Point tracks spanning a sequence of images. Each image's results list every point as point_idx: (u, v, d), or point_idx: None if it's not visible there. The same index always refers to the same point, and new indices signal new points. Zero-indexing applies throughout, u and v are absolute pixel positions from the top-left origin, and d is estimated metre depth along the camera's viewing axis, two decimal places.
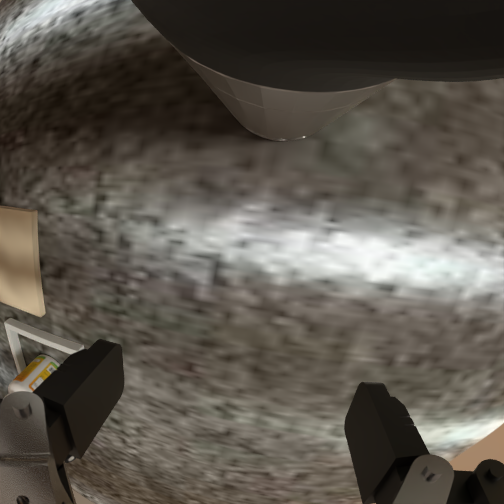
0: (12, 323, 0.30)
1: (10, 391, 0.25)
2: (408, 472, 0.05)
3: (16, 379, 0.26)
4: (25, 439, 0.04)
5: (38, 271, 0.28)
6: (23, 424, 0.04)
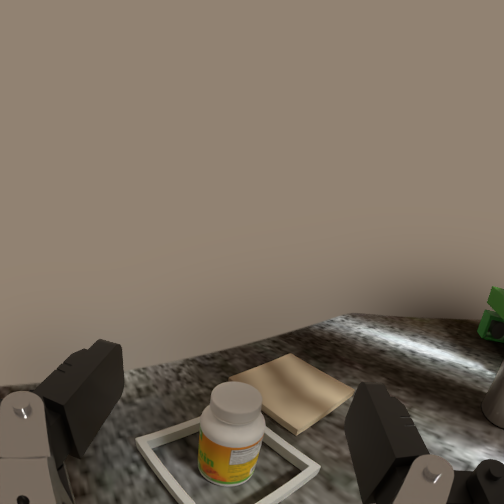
0: None
1: None
2: (408, 472, 0.05)
3: None
4: (25, 439, 0.04)
5: (325, 414, 0.33)
6: (22, 424, 0.04)
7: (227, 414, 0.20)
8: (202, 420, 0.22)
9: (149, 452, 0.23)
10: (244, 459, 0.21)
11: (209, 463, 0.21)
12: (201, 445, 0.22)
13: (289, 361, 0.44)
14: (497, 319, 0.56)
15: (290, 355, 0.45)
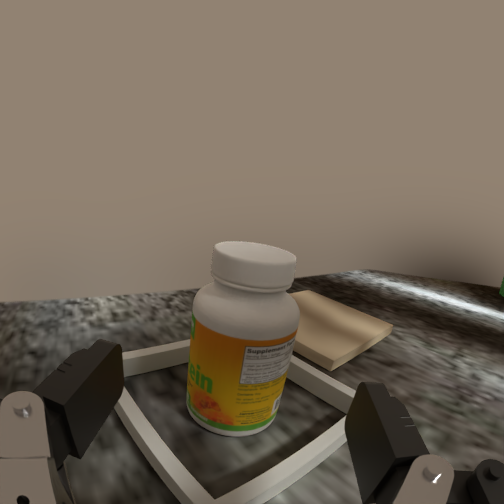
0: None
1: None
2: (408, 472, 0.05)
3: None
4: (25, 439, 0.04)
5: (363, 348, 0.26)
6: (23, 424, 0.04)
7: (240, 265, 0.13)
8: (197, 298, 0.15)
9: None
10: (266, 372, 0.14)
11: (204, 385, 0.14)
12: (192, 351, 0.15)
13: (309, 296, 0.36)
14: None
15: (309, 291, 0.38)
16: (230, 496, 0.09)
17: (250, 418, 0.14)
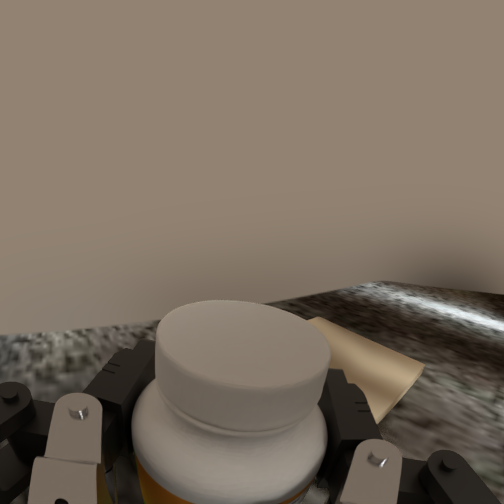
0: None
1: None
2: (353, 459, 0.05)
3: None
4: (89, 442, 0.05)
5: (393, 404, 0.18)
6: (76, 426, 0.05)
7: (206, 392, 0.05)
8: (135, 415, 0.07)
9: None
10: None
11: None
12: (140, 485, 0.07)
13: (320, 326, 0.28)
14: None
15: (319, 319, 0.30)
16: None
17: None
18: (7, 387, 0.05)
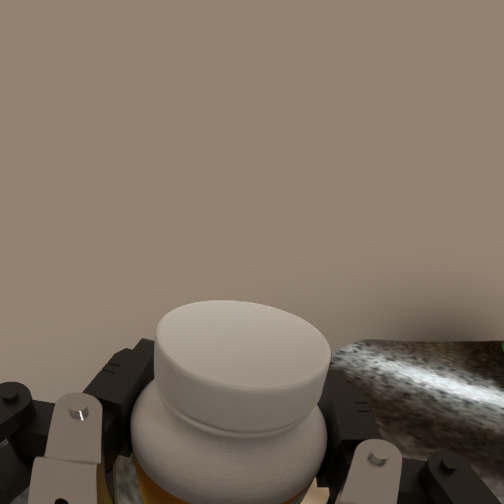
0: None
1: None
2: (353, 459, 0.05)
3: None
4: (89, 441, 0.05)
5: None
6: (76, 427, 0.05)
7: (205, 393, 0.05)
8: (134, 416, 0.07)
9: None
10: None
11: None
12: (140, 486, 0.07)
13: None
14: None
15: None
16: None
17: None
18: (7, 387, 0.05)
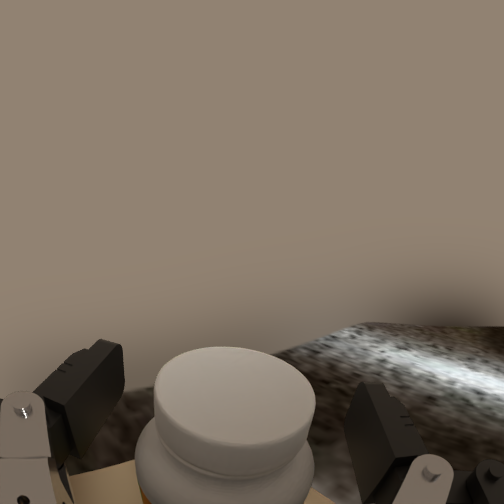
0: None
1: None
2: (408, 472, 0.05)
3: None
4: (26, 439, 0.04)
5: None
6: (23, 424, 0.04)
7: (201, 447, 0.05)
8: (138, 453, 0.07)
9: None
10: None
11: None
12: None
13: None
14: None
15: None
16: None
17: None
18: None
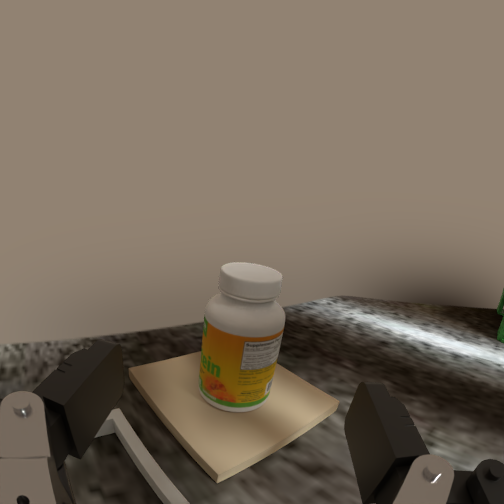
0: None
1: None
2: (408, 472, 0.05)
3: None
4: (25, 439, 0.04)
5: (281, 445, 0.18)
6: (22, 424, 0.04)
7: (240, 284, 0.18)
8: (208, 306, 0.20)
9: None
10: (260, 361, 0.19)
11: (214, 371, 0.19)
12: (205, 346, 0.20)
13: None
14: None
15: None
16: None
17: (248, 397, 0.19)
18: None
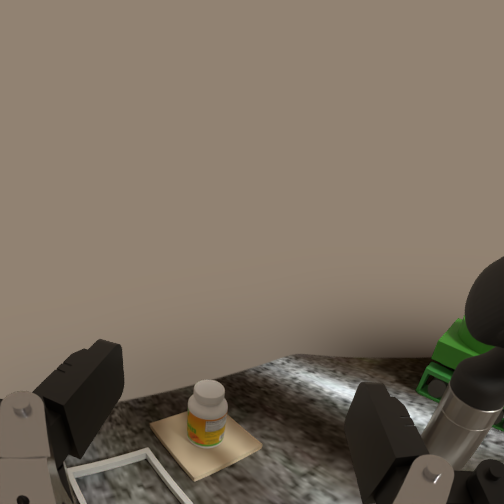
0: None
1: None
2: (408, 472, 0.05)
3: None
4: (25, 439, 0.04)
5: (226, 465, 0.35)
6: (22, 424, 0.04)
7: (202, 398, 0.35)
8: (189, 403, 0.37)
9: (72, 480, 0.25)
10: (214, 428, 0.36)
11: (193, 431, 0.36)
12: (188, 419, 0.37)
13: None
14: None
15: None
16: None
17: (210, 442, 0.37)
18: None
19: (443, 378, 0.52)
